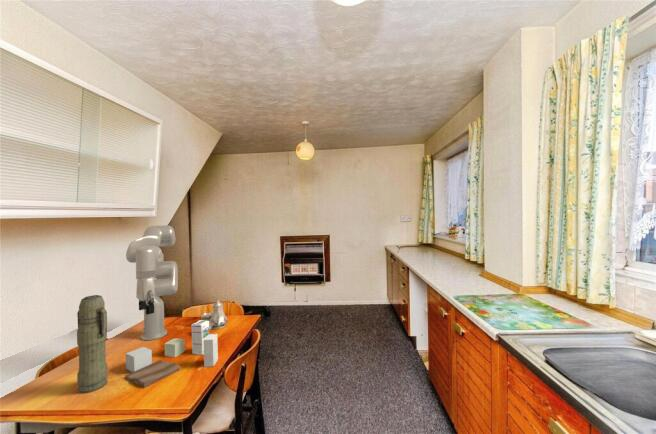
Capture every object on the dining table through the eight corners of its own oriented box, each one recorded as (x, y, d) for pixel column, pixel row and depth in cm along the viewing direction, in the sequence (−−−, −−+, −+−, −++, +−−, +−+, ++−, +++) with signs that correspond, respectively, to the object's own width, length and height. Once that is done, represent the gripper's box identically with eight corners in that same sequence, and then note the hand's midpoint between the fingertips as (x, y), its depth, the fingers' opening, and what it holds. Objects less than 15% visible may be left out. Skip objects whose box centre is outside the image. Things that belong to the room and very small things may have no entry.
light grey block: (126, 369, 119) (125, 353, 119) (143, 362, 125) (143, 346, 125) (134, 373, 115) (134, 357, 115) (151, 365, 121) (151, 350, 122)
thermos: (88, 379, 111) (87, 293, 112) (116, 379, 111) (115, 293, 111) (67, 393, 103) (66, 300, 103) (97, 393, 102) (96, 299, 102)
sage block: (164, 356, 130) (164, 343, 130) (174, 350, 136) (174, 338, 136) (175, 357, 129) (175, 344, 129) (184, 351, 134) (184, 339, 135)
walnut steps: (125, 377, 112) (125, 373, 112) (160, 362, 124) (160, 357, 124) (144, 387, 105) (144, 382, 105) (179, 370, 117) (179, 365, 117)
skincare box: (208, 360, 125) (208, 334, 125) (218, 359, 125) (217, 333, 126) (203, 367, 119) (203, 339, 119) (213, 366, 119) (213, 339, 120)
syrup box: (202, 355, 130) (202, 324, 130) (191, 354, 131) (191, 323, 131) (210, 349, 136) (209, 320, 136) (199, 348, 137) (199, 319, 137)
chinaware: (199, 324, 174) (195, 298, 174) (226, 317, 181) (223, 292, 181) (198, 341, 149) (194, 311, 148) (230, 332, 156) (226, 304, 155)
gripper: (130, 273, 129) (131, 310, 129) (142, 278, 118) (143, 317, 118) (148, 271, 135) (149, 306, 135) (161, 275, 124) (162, 313, 124)
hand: (146, 311), depth 126 cm, fingers open, 9 cm apart
